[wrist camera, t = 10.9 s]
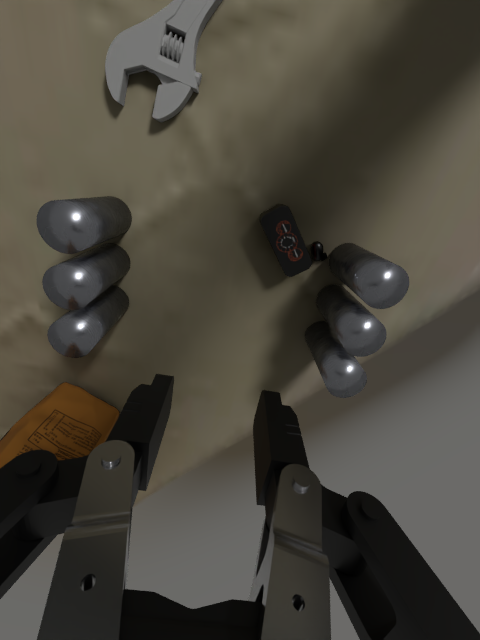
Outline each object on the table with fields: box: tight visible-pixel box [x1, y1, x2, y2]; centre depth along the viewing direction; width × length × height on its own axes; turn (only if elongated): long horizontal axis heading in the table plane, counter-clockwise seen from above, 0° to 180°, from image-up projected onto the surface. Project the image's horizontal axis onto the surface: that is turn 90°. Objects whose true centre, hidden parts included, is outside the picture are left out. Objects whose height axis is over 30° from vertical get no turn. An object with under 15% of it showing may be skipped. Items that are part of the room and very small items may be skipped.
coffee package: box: [0, 382, 119, 468], centre depth 29 cm, size 10×12×22 cm
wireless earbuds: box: [259, 204, 328, 277], centre depth 28 cm, size 5×7×3 cm, turn 28°
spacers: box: [37, 196, 409, 398], centre depth 27 cm, size 13×28×9 cm, turn 79°
